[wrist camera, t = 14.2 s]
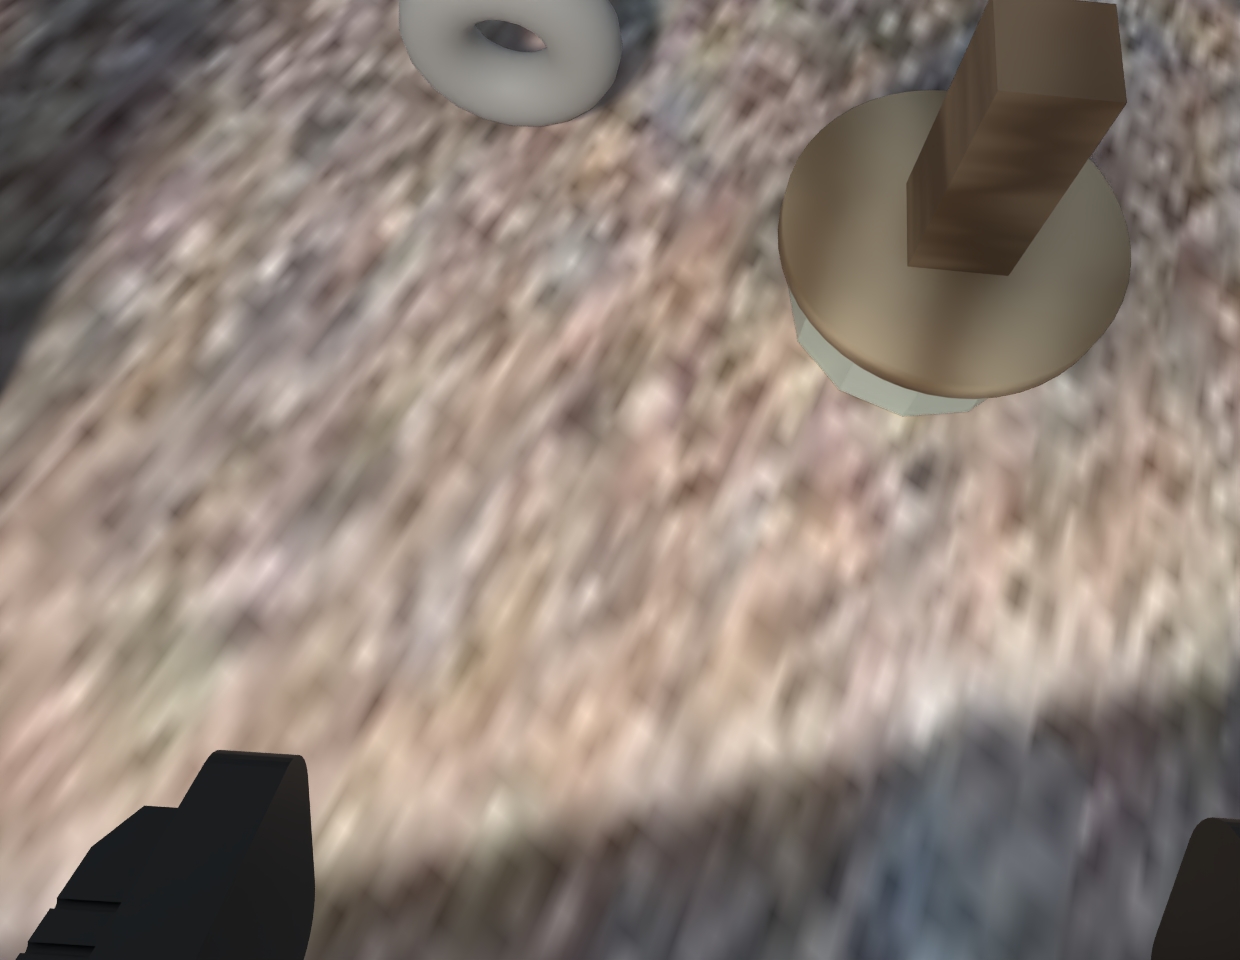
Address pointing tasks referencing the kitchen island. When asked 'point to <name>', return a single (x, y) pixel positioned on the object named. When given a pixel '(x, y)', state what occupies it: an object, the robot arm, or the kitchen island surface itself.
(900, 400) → the bowl
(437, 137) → the kitchen island surface
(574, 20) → the donut
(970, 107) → the lid
